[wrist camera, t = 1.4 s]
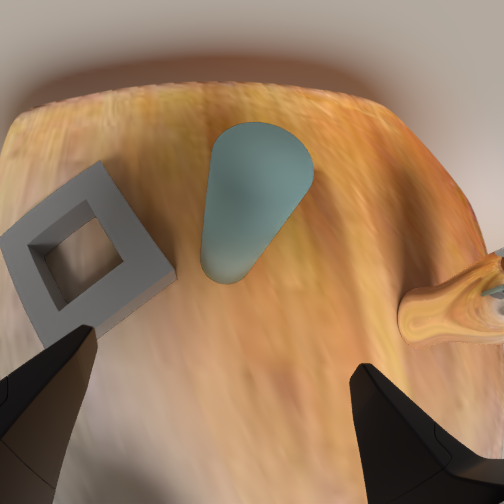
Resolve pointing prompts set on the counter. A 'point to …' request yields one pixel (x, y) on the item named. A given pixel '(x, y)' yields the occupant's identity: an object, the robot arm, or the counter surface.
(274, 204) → the peg
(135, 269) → the socket block
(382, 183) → the counter surface
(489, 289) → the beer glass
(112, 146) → the counter surface
